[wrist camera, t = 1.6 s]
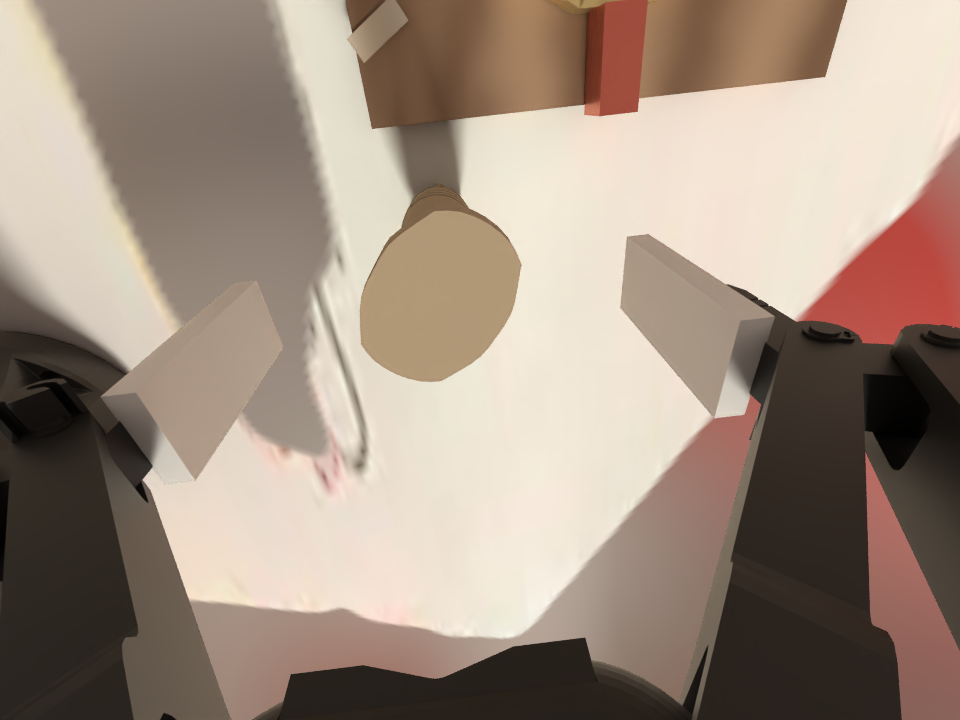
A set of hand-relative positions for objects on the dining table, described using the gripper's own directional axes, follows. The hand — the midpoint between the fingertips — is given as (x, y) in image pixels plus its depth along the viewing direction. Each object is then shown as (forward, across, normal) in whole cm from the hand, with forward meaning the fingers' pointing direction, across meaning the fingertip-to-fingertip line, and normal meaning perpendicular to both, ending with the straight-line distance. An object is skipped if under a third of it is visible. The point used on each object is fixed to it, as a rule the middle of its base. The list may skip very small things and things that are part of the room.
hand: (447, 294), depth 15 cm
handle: (+14, 0, 0) cm, 14 cm away
